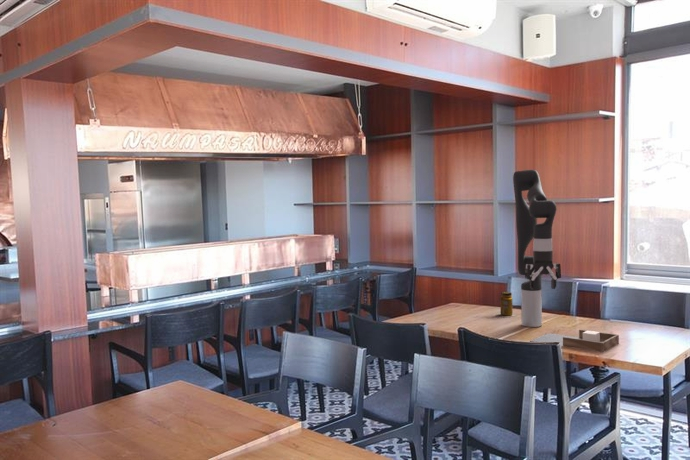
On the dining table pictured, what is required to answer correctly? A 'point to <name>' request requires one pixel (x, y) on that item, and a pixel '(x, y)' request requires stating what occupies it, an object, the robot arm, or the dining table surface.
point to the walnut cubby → (592, 342)
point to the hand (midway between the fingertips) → (543, 289)
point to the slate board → (556, 339)
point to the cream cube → (591, 336)
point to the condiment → (506, 304)
